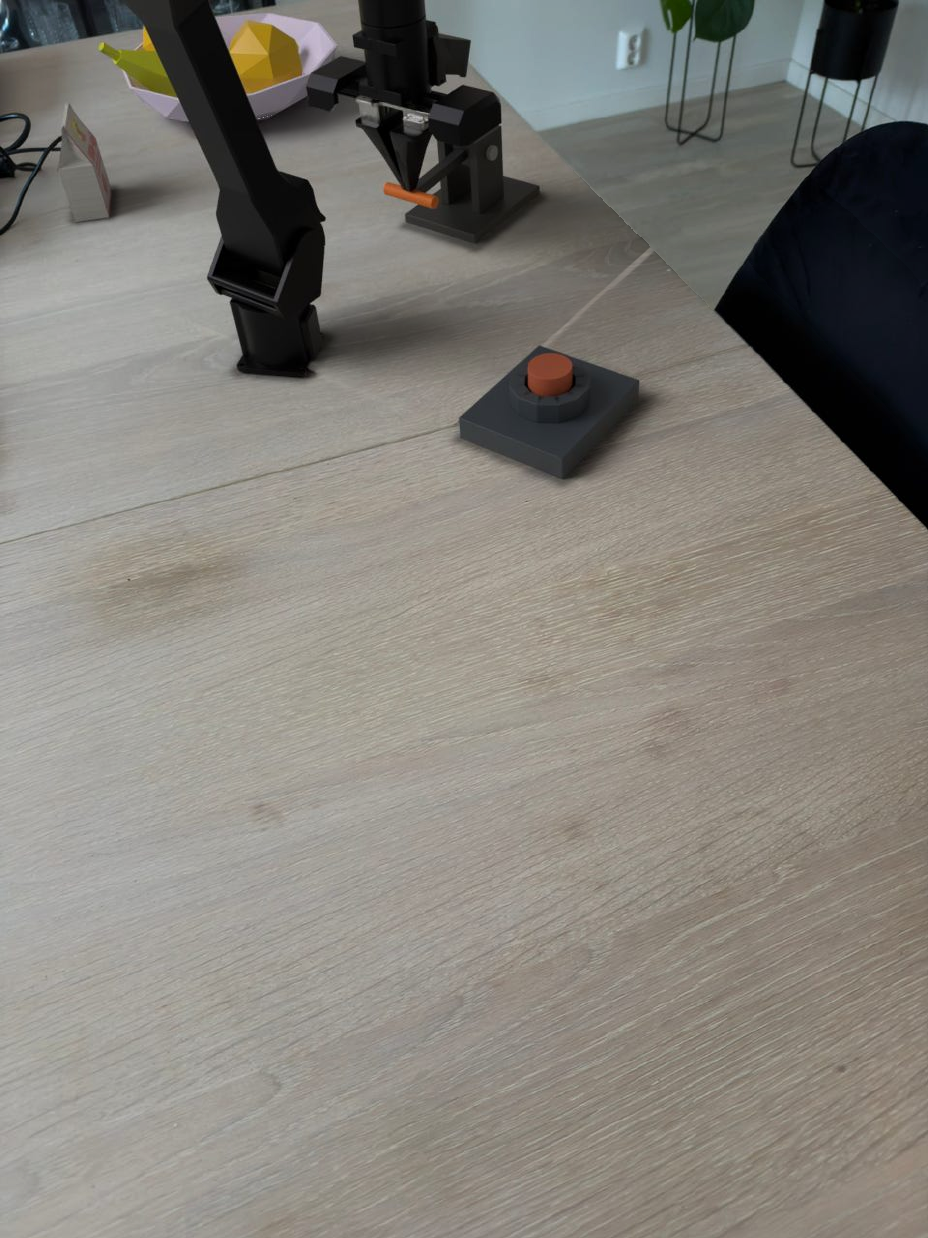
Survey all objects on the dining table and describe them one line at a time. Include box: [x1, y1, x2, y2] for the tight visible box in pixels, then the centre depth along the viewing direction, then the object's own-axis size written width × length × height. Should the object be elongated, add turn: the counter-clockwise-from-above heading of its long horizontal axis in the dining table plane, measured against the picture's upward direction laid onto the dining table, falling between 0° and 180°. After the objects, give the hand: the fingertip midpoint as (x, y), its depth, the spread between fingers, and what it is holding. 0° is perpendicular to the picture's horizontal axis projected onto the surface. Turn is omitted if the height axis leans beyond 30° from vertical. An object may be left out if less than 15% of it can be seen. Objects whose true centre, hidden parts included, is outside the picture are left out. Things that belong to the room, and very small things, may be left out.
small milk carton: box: [56, 101, 113, 223], centre depth 119 cm, size 4×7×10 cm, turn 10°
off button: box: [528, 353, 573, 396], centre depth 88 cm, size 4×4×2 cm
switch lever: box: [382, 145, 470, 209], centre depth 109 cm, size 12×6×2 cm, turn 144°
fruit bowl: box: [97, 12, 338, 123], centre depth 135 cm, size 28×27×11 cm
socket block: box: [458, 344, 640, 480], centre depth 90 cm, size 12×10×4 cm
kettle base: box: [404, 124, 541, 245], centre depth 113 cm, size 12×9×9 cm
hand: (410, 189), depth 106 cm, fingers closed
